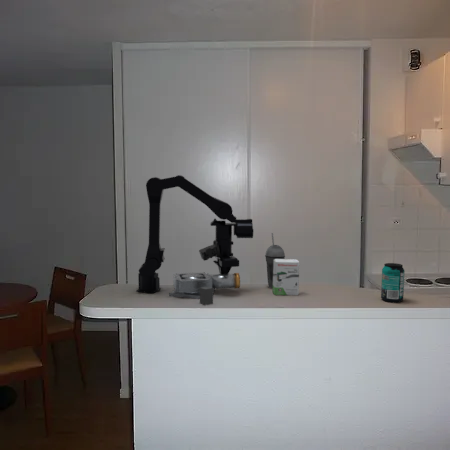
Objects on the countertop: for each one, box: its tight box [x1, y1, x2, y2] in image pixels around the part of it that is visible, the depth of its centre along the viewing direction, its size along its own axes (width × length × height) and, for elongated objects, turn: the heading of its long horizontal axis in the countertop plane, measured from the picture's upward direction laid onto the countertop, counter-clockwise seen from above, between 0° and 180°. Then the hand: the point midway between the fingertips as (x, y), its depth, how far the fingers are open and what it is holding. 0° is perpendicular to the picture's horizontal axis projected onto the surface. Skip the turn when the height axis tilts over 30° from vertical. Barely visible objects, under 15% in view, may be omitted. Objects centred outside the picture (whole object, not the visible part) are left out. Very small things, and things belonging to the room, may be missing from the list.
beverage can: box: [380, 262, 405, 304], centre depth 165 cm, size 7×7×12 cm
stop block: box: [199, 286, 214, 306], centre depth 160 cm, size 3×3×5 cm
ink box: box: [272, 258, 301, 296], centre depth 173 cm, size 9×5×12 cm, turn 93°
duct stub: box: [168, 274, 216, 300], centre depth 172 cm, size 12×12×6 cm
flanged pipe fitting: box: [172, 271, 241, 293], centre depth 173 cm, size 22×12×5 cm, turn 101°
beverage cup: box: [264, 232, 286, 289], centre depth 182 cm, size 7×7×20 cm
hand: (223, 281), depth 178 cm, fingers closed
